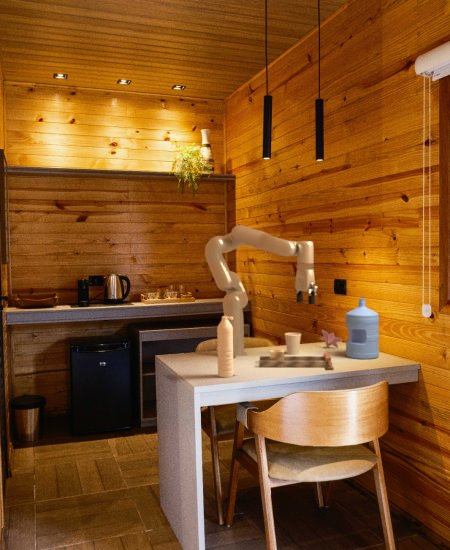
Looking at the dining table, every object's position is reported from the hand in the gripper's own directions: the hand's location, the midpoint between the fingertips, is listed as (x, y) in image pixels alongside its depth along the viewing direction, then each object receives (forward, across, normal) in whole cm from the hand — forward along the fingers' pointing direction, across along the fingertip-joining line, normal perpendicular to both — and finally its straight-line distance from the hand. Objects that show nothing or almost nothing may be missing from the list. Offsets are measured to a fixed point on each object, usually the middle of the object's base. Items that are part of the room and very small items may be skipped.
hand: (305, 303), depth 266 cm
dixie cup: (+27, -14, +2) cm, 30 cm away
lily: (+27, -17, +27) cm, 42 cm away
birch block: (+26, +8, -21) cm, 34 cm away
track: (+26, +12, -14) cm, 32 cm away
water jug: (+26, +9, +27) cm, 39 cm away
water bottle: (+27, +14, -49) cm, 58 cm away
